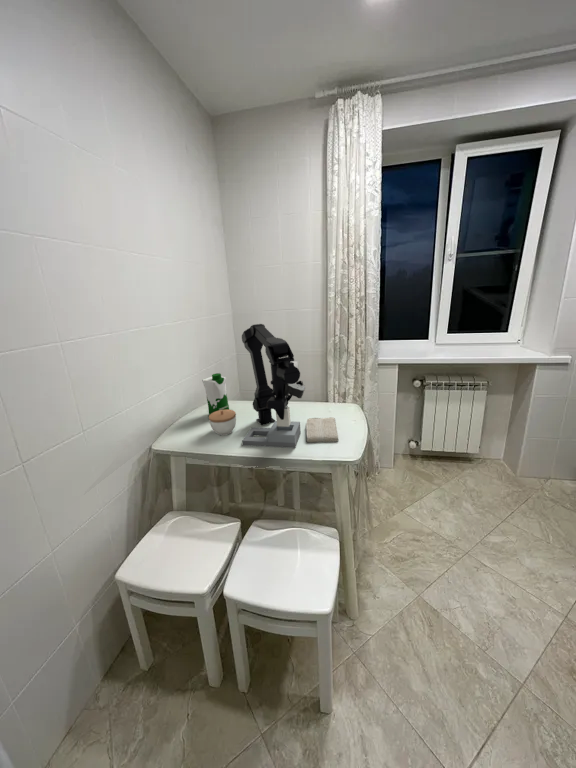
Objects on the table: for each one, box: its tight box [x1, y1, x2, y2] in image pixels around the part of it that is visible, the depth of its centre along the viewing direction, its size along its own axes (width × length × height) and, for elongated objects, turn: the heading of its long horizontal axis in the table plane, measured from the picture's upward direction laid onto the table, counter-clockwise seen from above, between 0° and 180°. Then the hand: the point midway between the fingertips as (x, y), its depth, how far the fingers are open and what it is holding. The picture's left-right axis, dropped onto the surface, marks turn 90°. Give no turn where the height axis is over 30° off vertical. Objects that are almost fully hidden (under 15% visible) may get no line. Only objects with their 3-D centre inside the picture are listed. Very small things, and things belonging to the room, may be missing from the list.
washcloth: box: [305, 417, 339, 443], centre depth 115 cm, size 12×18×3 cm, turn 177°
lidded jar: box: [208, 409, 237, 436], centre depth 119 cm, size 11×11×9 cm
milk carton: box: [202, 372, 230, 416], centre depth 135 cm, size 9×9×20 cm
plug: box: [275, 405, 292, 427], centre depth 108 cm, size 4×3×7 cm, turn 78°
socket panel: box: [241, 420, 302, 449], centre depth 111 cm, size 20×11×5 cm, turn 78°
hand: (283, 417), depth 108 cm, fingers closed on plug, 3 cm apart
